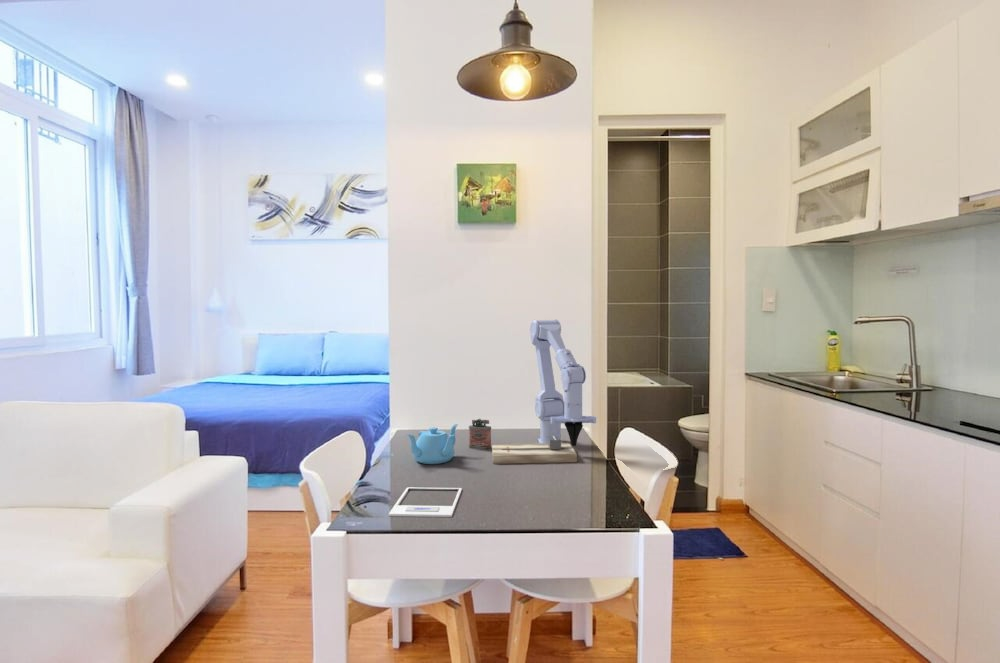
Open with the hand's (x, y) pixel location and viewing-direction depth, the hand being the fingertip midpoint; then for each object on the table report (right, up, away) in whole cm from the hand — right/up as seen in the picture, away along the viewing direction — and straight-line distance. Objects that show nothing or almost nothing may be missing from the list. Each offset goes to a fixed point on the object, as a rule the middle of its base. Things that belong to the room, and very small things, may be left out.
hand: (573, 445), depth 166 cm
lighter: (-31, -4, +11) cm, 33 cm away
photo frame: (-42, -6, -39) cm, 58 cm away
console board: (-13, -4, 0) cm, 14 cm away
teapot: (-44, -4, -4) cm, 44 cm away
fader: (-6, -1, 0) cm, 6 cm away
